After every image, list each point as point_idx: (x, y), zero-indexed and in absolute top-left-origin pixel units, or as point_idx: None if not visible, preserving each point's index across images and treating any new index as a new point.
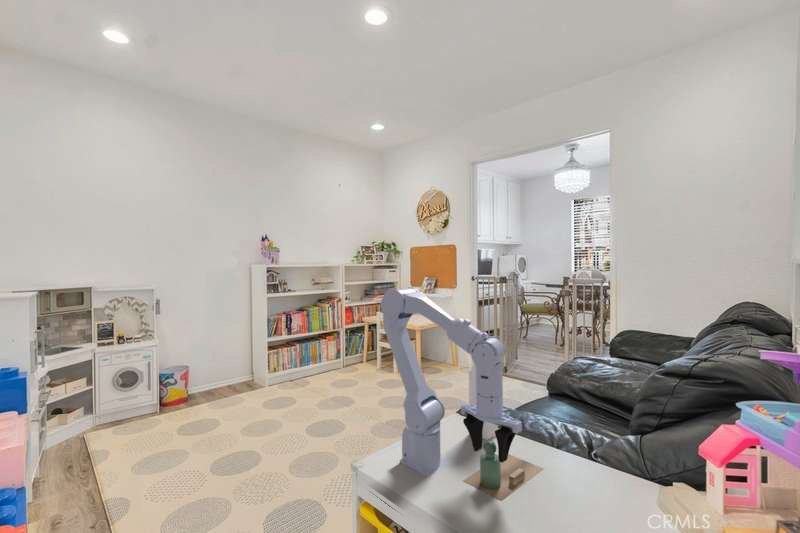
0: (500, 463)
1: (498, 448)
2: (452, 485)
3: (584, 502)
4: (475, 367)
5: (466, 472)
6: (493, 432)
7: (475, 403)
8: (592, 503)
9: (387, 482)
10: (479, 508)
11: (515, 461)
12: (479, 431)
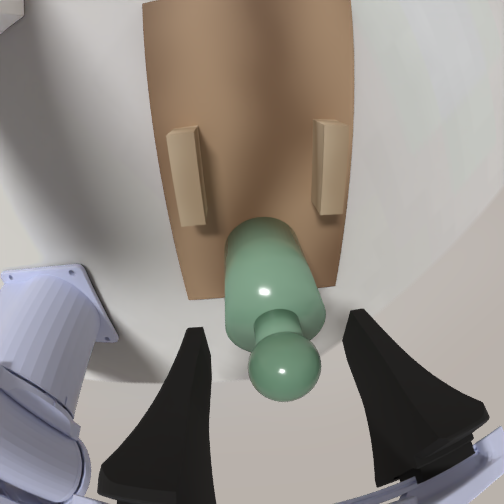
0: (315, 286)
1: (363, 400)
2: (181, 316)
3: (484, 114)
4: None
5: (142, 244)
6: None
7: None
8: (494, 107)
9: (108, 379)
10: None
11: (221, 25)
12: (197, 424)
